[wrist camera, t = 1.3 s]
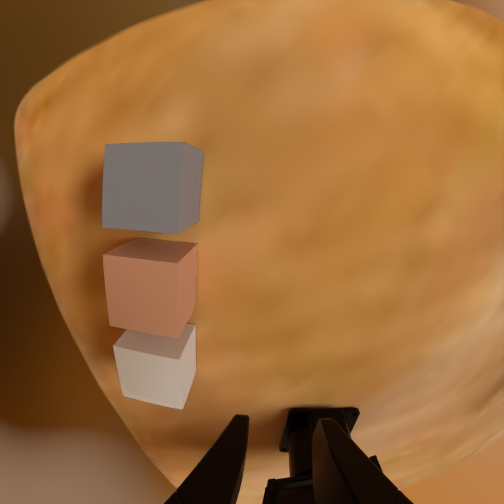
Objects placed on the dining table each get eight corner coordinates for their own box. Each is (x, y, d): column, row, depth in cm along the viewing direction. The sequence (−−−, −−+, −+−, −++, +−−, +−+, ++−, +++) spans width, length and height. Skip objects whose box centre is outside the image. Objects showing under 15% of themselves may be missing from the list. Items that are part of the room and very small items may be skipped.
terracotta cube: (195, 306, 20) (178, 338, 15) (137, 297, 20) (109, 325, 15) (197, 243, 19) (177, 263, 14) (135, 237, 19) (102, 254, 14)
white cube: (195, 371, 21) (182, 409, 17) (143, 362, 21) (123, 395, 17) (195, 324, 20) (179, 359, 16) (139, 315, 20) (112, 345, 16)
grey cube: (198, 220, 18) (178, 234, 14) (135, 216, 18) (102, 227, 14) (203, 150, 17) (184, 142, 13) (139, 150, 17) (105, 144, 13)
